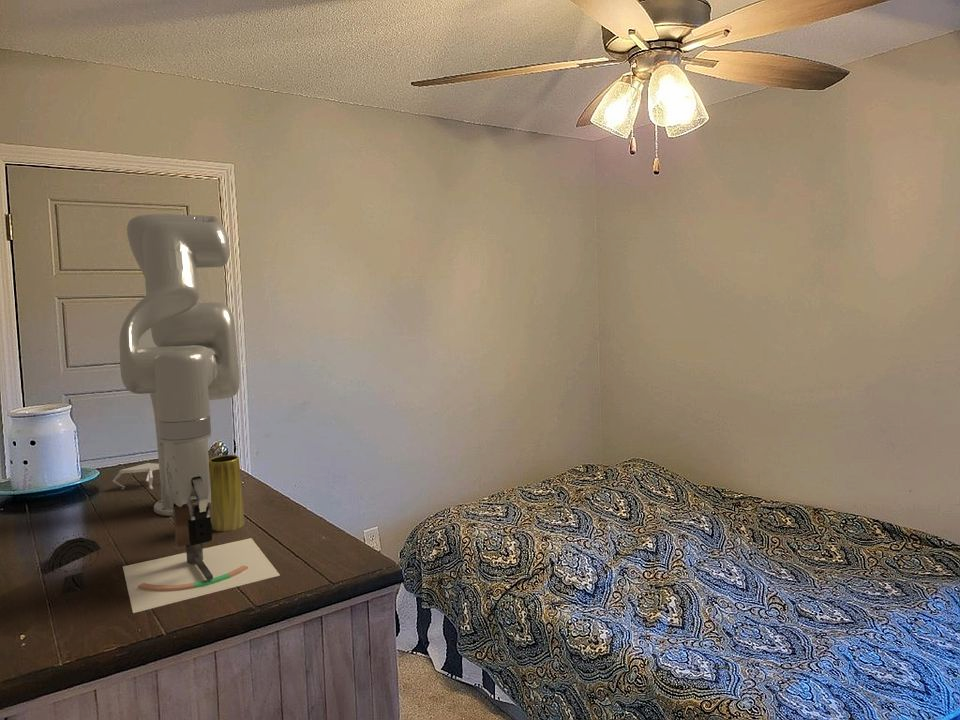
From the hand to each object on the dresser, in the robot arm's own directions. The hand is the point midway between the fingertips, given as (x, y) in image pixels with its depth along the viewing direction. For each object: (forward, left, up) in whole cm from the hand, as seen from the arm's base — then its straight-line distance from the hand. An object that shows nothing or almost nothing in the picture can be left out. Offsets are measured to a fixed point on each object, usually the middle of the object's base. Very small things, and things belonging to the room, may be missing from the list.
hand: (193, 533), depth 104 cm
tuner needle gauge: (+4, 0, -4) cm, 6 cm away
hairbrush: (-8, -16, -7) cm, 19 cm away
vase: (-14, +8, -6) cm, 17 cm away
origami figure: (-56, -2, -7) cm, 57 cm away
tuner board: (+4, 0, -6) cm, 7 cm away
